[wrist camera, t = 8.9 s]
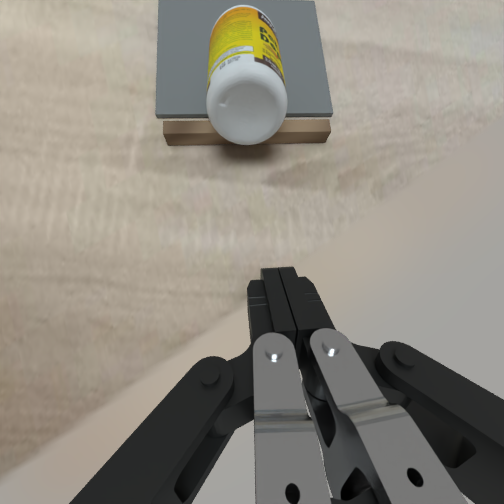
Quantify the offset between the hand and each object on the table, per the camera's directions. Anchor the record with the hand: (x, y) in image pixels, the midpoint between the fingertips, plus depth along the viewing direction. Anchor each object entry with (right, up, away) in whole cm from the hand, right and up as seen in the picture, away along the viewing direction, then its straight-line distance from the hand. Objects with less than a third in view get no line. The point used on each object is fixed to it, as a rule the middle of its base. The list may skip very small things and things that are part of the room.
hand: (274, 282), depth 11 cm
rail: (-1, +12, +10) cm, 15 cm away
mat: (-2, +21, +12) cm, 24 cm away
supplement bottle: (-1, +10, +4) cm, 11 cm away
